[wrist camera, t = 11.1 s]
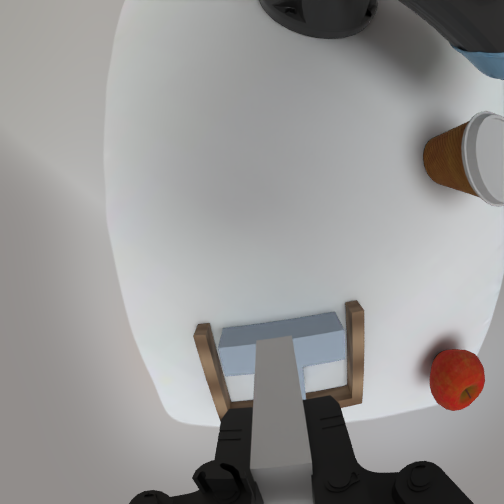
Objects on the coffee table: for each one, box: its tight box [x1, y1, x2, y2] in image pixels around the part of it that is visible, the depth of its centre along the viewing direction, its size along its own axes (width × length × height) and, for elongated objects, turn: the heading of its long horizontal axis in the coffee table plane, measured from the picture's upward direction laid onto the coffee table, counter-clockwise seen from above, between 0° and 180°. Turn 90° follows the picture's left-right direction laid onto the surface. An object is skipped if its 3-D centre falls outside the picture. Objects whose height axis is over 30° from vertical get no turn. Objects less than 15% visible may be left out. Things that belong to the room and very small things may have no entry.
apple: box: [430, 349, 485, 411], centre depth 31 cm, size 9×8×11 cm
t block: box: [218, 312, 345, 400], centre depth 34 cm, size 10×14×5 cm
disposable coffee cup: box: [423, 111, 504, 207], centre depth 24 cm, size 10×10×12 cm
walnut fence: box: [193, 300, 364, 421], centre depth 36 cm, size 15×20×3 cm
